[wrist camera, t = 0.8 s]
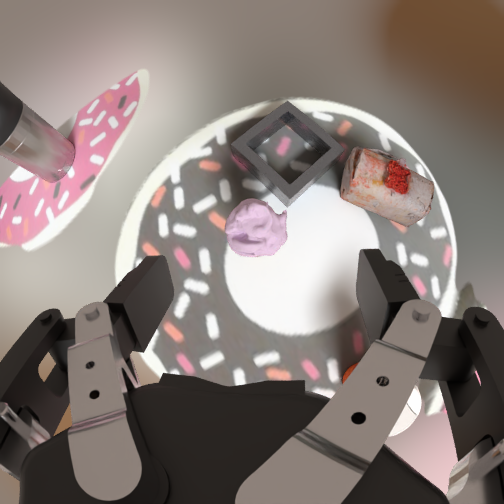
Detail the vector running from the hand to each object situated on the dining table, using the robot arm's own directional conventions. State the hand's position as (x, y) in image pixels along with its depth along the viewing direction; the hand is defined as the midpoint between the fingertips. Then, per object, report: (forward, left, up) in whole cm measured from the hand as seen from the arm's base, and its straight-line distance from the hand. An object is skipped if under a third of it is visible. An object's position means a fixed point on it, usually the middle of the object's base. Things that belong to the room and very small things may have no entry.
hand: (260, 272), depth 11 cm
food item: (+3, +23, -30) cm, 38 cm away
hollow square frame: (-11, +17, -30) cm, 36 cm away
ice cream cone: (-4, +4, -30) cm, 30 cm away
